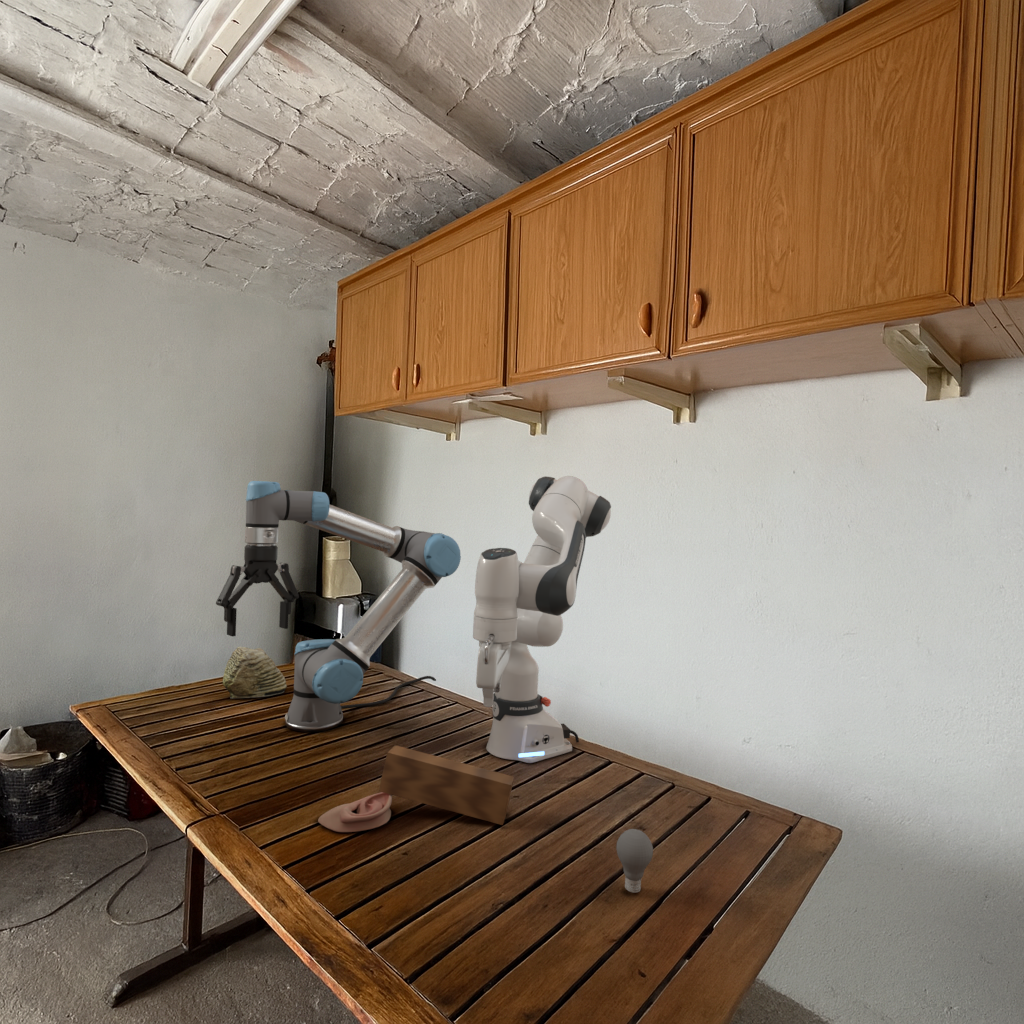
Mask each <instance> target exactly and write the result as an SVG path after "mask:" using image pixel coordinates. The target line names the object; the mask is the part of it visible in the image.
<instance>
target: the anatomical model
mask: <svg viewBox="0 0 1024 1024" xmlns="http://www.w3.org/2000/svg"><path fill="white" fill-rule="evenodd" d="M392 803H393V795H391V794H387V793H383V792H380V791H379V792H376V793H374V794H371V795H367V796H366V797H362V798H360V799H358V800H355V801H352V802H350V803H344V804H340V805H337V806H335V807H333V808H331V809H329V810H327V811H326V812H324V813H322V814H321V815H320V816H319V817H318V820H317V821H318V823H319V824H320V825H321V826H323V827H325V828H326V829H328V830H331V831H333V832H337V833H352V832H355V833H356V832H362V831H367V830H372V829H376V828H379V827H382V826H383V825H386V824H387V823H388V822H389V821H390V819H391V816H392V810H391V808H390V807H391V805H392Z"/></svg>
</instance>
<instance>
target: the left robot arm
mask: <svg viewBox="0 0 1024 1024" xmlns="http://www.w3.org/2000/svg"><path fill="white" fill-rule="evenodd" d="M246 488H247V489H246V498H245V526H244V527H245V529H244V543H245V544H246V545H245V546H244V549H243V550H244V552H243V553H244V554H243V555H244V556H243V558H244V559H243V561H244V565H243V566H241V565H236V564H233V565H231V567H230V571H229V576H228V578H227V580H226V581H225V584H224V586H223V587H222V589H221V591H220V593H219V595H218V597H217V599H216V601H215V605H216V606H219V607H222V608H223V620H224V622H225V623H226V635H228V636H230V637H236V635H237V611H238V609H237V608H236V607H235V606H236V604H237V603H238V602H239V600H240V599H241V598H242V597H243V595H244V594H245V593H246V592H247V591H248V589H249V588H250V587H251V586H253V585H254V584H261V583H263V584H264V583H265V584H267V583H269V584H270V585H271V586H272V588H273V589H274V590H275V592H276V593H277V594H278V595H279V596H280V598H281V599H282V600H283V601H282V600H281V601H279V621H278V622H279V624H278V627H279V629H280V628H281V629H284V630H287V629H289V615H291V614H292V603H294V602H295V600H298V599H299V598H300V595H299V592H298V589H297V587H296V585H295V583H294V580H293V577H292V575H291V573H290V565H289V563H287V562H279V563H277V560H278V554H279V553H278V551H279V547H278V546H277V545H276V544H278V542H279V527H280V525H279V524H280V521H293V522H296V523H298V524H299V523H300V524H302V525H305V526H308V527H312V528H314V529H317V530H320V531H322V532H326V533H328V534H332V535H334V536H337V537H340V538H343V539H345V540H348V541H351V542H354V543H357V544H359V545H361V546H365V547H368V548H371V549H374V550H378V551H379V552H382V553H383V555H384V556H385V557H386V558H390V559H392V560H394V561H396V562H399V563H401V570H400V571H399V572H398V574H397V575H396V576H395V577H394V578H393V579H392V581H391V582H390V583H389V584H388V585H387V587H386V588H385V589H384V590H383V591H382V592H381V593H380V595H379V596H378V597H377V599H375V601H374V602H373V603H372V604H371V605H370V607H368V609H367V610H366V612H365V613H364V614H363V615H362V616H361V617H360V618H359V620H357V622H356V623H355V625H353V627H352V628H351V629H350V630H349V632H348V633H347V634H346V635H345V636H344V637H343V638H336V639H332V638H323V639H322V638H320V639H307V640H303V641H299V642H297V644H296V645H295V650H294V653H293V654H294V655H293V656H294V672H293V673H294V674H293V695H292V696H293V697H292V699H291V702H290V704H289V708H288V711H287V712H286V713H285V716H284V719H285V726H286V728H287V729H289V730H291V731H294V732H295V731H296V732H301V733H316V732H325V731H329V730H332V729H335V728H337V727H339V726H340V725H342V723H343V722H344V714H343V710H345V709H355V708H364V707H373V706H380V705H383V704H386V703H388V702H390V700H392V699H393V698H394V697H395V696H396V694H397V692H398V690H399V689H401V688H403V687H405V686H408V685H411V684H412V685H413V684H415V683H417V682H420V681H424V680H428V679H429V680H432V681H433V682H436V681H437V679H436V678H435V677H434V676H431V675H425V676H421V677H418V678H416V679H413V680H409V681H405V682H403V683H400V684H399V685H397V686H395V688H394V690H393V692H392V693H391V694H390V695H389V696H388V697H387V698H384V699H382V700H378V701H373V702H363V703H355V704H354V703H353V704H344V703H347V702H349V701H350V700H352V699H353V698H355V697H356V696H357V695H358V694H359V693H360V691H361V689H362V688H363V684H364V675H365V673H366V672H367V671H368V670H369V669H370V667H371V662H370V661H371V660H370V659H371V657H372V656H373V655H374V654H375V652H377V649H378V648H379V647H380V646H381V645H382V643H383V642H384V641H385V640H386V638H387V637H388V636H389V635H390V633H391V632H392V631H393V630H394V628H395V627H396V626H397V625H398V623H400V621H401V620H402V619H403V617H404V616H405V615H406V614H407V613H408V611H409V610H410V609H411V608H412V606H413V605H414V604H415V603H416V602H417V600H418V599H419V598H420V597H421V595H422V594H423V593H424V592H425V590H427V589H433V588H435V587H436V585H438V584H439V582H440V581H441V579H442V578H447V577H450V576H452V575H453V574H454V573H455V572H456V571H457V570H458V568H459V567H460V563H461V558H462V556H461V549H460V546H459V543H457V541H456V540H455V539H454V538H453V537H451V536H450V535H448V534H444V533H442V532H441V533H440V532H428V531H425V530H424V531H422V530H414V529H408V528H403V527H401V526H398V525H395V526H393V527H391V526H389V525H386V524H383V523H381V522H378V521H375V520H372V519H369V518H367V517H365V516H362V515H359V514H357V513H353V512H351V511H349V510H346V509H343V508H341V507H338V506H335V505H333V504H330V497H329V495H328V494H327V493H326V492H324V491H316V490H313V491H312V490H292V489H282V488H281V484H280V482H279V481H269V480H268V481H264V480H251V481H249V482H248V484H247V487H246ZM277 572H279V575H280V578H281V580H282V583H283V584H284V585H283V584H282V583H281V582H280V579H279V578H278V577H277V575H276V573H277ZM242 574H244V576H243V577H242V578H241V579H240V577H241V575H242ZM239 580H240V582H239V584H238V585H237V583H238V581H239ZM236 585H237V586H236ZM284 586H285V587H284ZM341 704H344V705H341Z"/></svg>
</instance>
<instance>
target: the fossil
mask: <svg viewBox="0 0 1024 1024" xmlns="http://www.w3.org/2000/svg"><path fill="white" fill-rule="evenodd" d="M222 676H223V677H222V685H223V687H224V688H225V690H226V691H228V693H229V698H230V699H250V698H264V697H271V696H275V695H281V694H284V693H285V691H286V689H287V687H288V686H287V680H286V678H285V676H284V674H283V673H282V672H281V669H279V668H278V667H277V665H276V663H275V662H274V660H273V659H272V658H271V657H270V656H269V655H268V654H267V653H266V652H265V650H264V649H263V648H260V647H258V648H251V647H247V646H246V647H245V646H238V647H237V648H236V649H235V650H233V651H232V653H231V656H230V657H229V659H228V660H227V663H226V666H225V668H224V671H223V675H222Z"/></svg>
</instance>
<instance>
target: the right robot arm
mask: <svg viewBox="0 0 1024 1024" xmlns="http://www.w3.org/2000/svg"><path fill="white" fill-rule="evenodd" d="M528 506H529V508H530V510H531V511H533V513H532V517H531V523H532V527H533V530H534V531H535V533H536V535H537V536H536V538H535V539H534V540H533V543H532V545H531V547H530V549H529V551H528V553H527V555H526V558H525V559H524V561H523V562H522V561H521V560H519V557H518V552H517V551H516V550H515V549H512V548H508V547H494V548H493V547H492V548H489V549H485V550H484V551H482V552H481V553H480V555H479V558H478V561H477V566H476V571H475V572H476V574H475V583H474V596H475V608H474V611H473V626H472V638H473V639H474V640H476V641H478V647H479V648H478V653H477V660H476V661H477V663H476V674H475V676H476V677H475V685H476V687H477V689H481V690H482V697H483V701H482V702H483V703H482V705H483V707H485V708H492V709H491V710H492V722H491V729H490V733H489V736H488V741H487V744H486V746H485V749H486V751H487V752H488V753H489V754H490V755H493V756H494V757H497V758H499V759H500V758H501V759H505V760H509V761H510V760H511V761H519V762H523V763H527V764H533V763H536V762H540V761H543V760H546V759H551V758H553V757H557V756H560V755H563V754H567V753H571V752H573V745H572V743H571V741H570V740H568V739H570V738H571V734H572V735H573V736H574V738H575V743H576V744H577V743H579V742H580V740H579V735H578V733H577V732H575V730H572V729H570V728H569V727H568V726H567V725H566V724H565V723H561V722H560V721H559V720H558V719H556V717H554V716H553V715H552V714H551V713H550V712H548V711H547V710H546V709H545V708H544V707H547V708H548V707H550V706H551V704H552V700H551V699H550V698H548V697H546V696H542V695H540V694H539V672H540V669H539V665H538V662H537V660H536V659H535V658H534V657H533V655H532V654H531V652H530V650H529V648H528V647H534V648H537V647H538V648H544V647H547V648H548V647H551V646H554V645H555V644H556V643H557V642H558V641H559V640H560V638H561V636H562V633H563V630H564V621H563V616H562V615H563V614H565V613H566V612H567V611H568V610H570V609H571V608H572V607H573V606H574V603H575V600H576V596H577V587H578V578H579V576H580V575H579V574H580V570H581V567H582V561H583V557H584V552H585V548H586V540H587V538H589V537H595V536H597V535H599V534H601V533H602V531H603V530H604V529H606V527H607V526H608V524H609V523H610V520H611V517H612V516H611V515H612V504H611V503H610V501H609V500H608V499H606V498H605V497H603V496H602V495H597V494H595V493H594V492H593V491H591V490H589V489H588V487H587V485H586V484H585V482H584V481H583V480H582V479H580V478H578V477H576V476H574V475H573V476H572V475H565V476H562V477H559V478H558V479H556V478H555V477H552V476H541V477H539V478H538V479H537V480H536V482H534V484H533V485H532V487H531V488H530V491H529V495H528Z"/></svg>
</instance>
